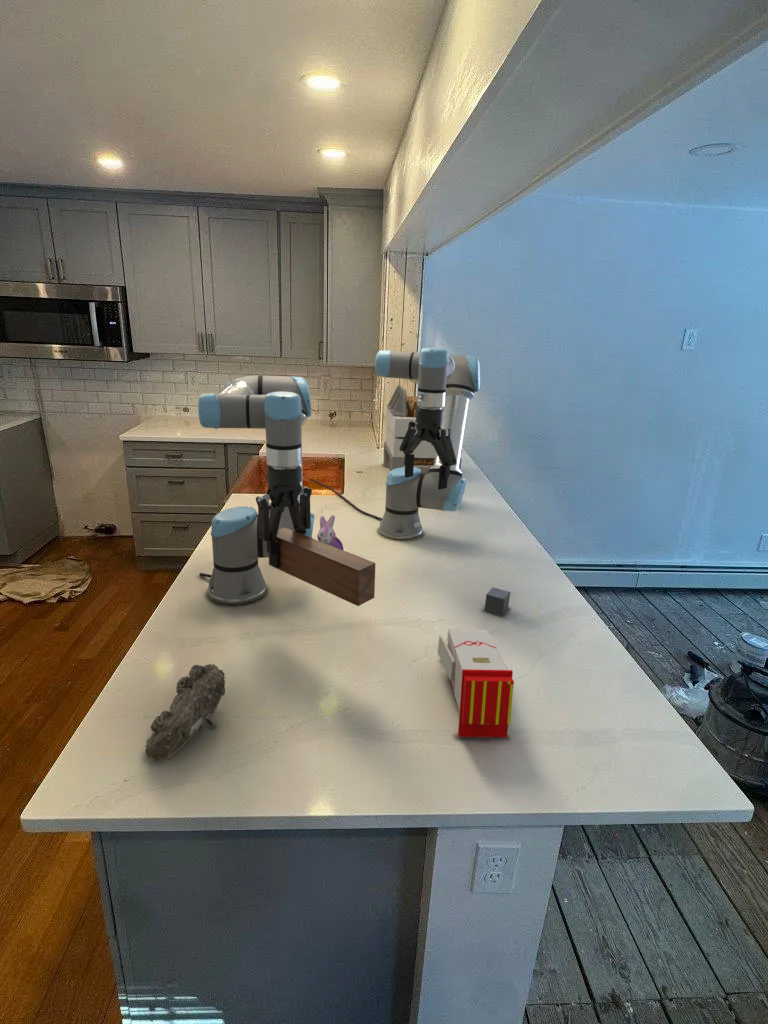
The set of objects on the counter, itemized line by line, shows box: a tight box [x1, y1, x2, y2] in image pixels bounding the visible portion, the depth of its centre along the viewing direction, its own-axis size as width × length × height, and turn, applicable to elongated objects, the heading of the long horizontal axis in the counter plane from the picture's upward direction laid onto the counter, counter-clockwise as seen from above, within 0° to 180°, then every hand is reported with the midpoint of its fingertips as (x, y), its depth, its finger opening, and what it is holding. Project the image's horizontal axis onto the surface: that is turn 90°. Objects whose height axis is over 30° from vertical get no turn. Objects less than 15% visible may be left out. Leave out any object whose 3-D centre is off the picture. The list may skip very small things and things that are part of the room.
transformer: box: [383, 384, 463, 472], centre depth 268 cm, size 34×33×41 cm
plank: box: [268, 527, 376, 607], centre depth 123 cm, size 5×28×8 cm, turn 50°
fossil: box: [144, 663, 226, 761], centre depth 105 cm, size 22×10×15 cm
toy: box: [437, 628, 515, 738], centre depth 117 cm, size 12×13×30 cm
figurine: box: [316, 514, 345, 551], centre depth 173 cm, size 9×10×15 cm
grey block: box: [484, 586, 511, 617], centre depth 151 cm, size 5×5×5 cm
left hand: (285, 562), depth 131 cm, fingers closed on plank, 5 cm apart
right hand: (425, 482), depth 161 cm, fingers open, 13 cm apart
